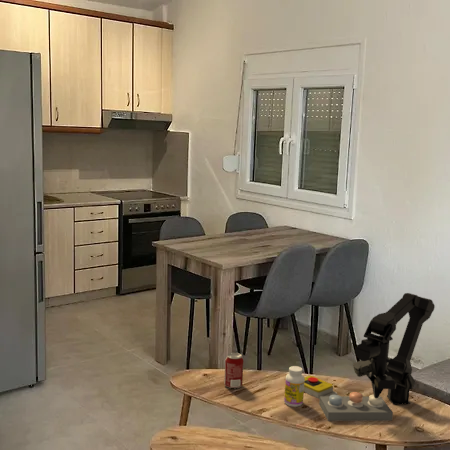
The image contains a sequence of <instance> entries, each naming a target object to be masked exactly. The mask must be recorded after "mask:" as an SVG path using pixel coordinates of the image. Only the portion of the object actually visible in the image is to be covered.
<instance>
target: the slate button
mask: <svg viewBox="0 0 450 450" xmlns="http://www.w3.org/2000/svg"><path fill="white" fill-rule="evenodd" d="M342 399H343V398H342V397H341V395H339V394H337V395H330V396H329V403H330V404H332V405H341V404H342Z"/></svg>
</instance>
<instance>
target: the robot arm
mask: <svg viewBox="0 0 450 450" xmlns="http://www.w3.org/2000/svg"><path fill="white" fill-rule="evenodd" d="M435 308H436V306H435V303H434V301H433V300H432V299H430V298H425V297H422V296H418V295H417V294H413V293H410V292H406V293H404V294H403V295H402V297H401V298H400V299H399V300H398V301H397V302H396V303H394V305H393V306H392V307H390V308H389V309H388V310H387V311H386V312H382V313H378V314H377V315H375V316H373V317H372V319H371V320H370V322H369V323H368V325H367V328H366V330H365V332H364V334H363V338H366V339H361V341H360V343H359V344H357V345H356V347H355V350H354V351H355V355H356V357H357V358H358V360H359V361H356V362H353V363H352V367H353V370H354V373H355V374H356V376H357V377H359V378H361V377H363V376H366V377H367V378H368V380H369V381H370V383H371V387H372V395H374V397H375V398H378V397H379V396H381V394H382V392H383V391H384V390H387V395H386V397H387V399H388V400H389V401H390V402H391V403H392V405H411V401H409V400H410V390H413V388H414V386H415V383H416V380H415V379H414V377H413V376H412V371H413V367H412V363H411V359H412V356H413V354H414V351H415V348H416V345H417V342H418V339H419V336H420V334H421V330H422V327H423V325H424V324H425V322H426V321H428V320H429V319H430V318H431V317H432V313H433V312H434V310H435ZM407 314H408V316H409V319H408V322H407V325H406V328H405V331H404V333H403V336H402V339H401V342H400V345H399V348H398V351H397V354H396V355H395V356H394V357H392V358H389V352H390V350H389V349H390V342H391V341H393V337H392V335H393V334H394V332H395V331H396V330H397V324H398V323H399V322H400V321H401V320H402V319H403V318H404V317H405V316H406V315H407Z"/></svg>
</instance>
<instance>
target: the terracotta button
mask: <svg viewBox="0 0 450 450" xmlns="http://www.w3.org/2000/svg"><path fill="white" fill-rule="evenodd" d="M348 396H349V400H350V401H352V402H356V403H360V402H362V399H363V396H364V395H363V394H362V393H360V392H358V391H352V392H350V393H349V395H348Z"/></svg>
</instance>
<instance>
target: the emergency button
mask: <svg viewBox="0 0 450 450" xmlns="http://www.w3.org/2000/svg"><path fill="white" fill-rule="evenodd" d="M304 379H305V381H304V393H305V394H307V395H310V396H312V397H315V398H316V399H318V400H320V396H330V395H338V392H337V391H334V385H333V384H332V383H330V382H327V380H326V381H325V380H323V379H320V378H318V377H316V376H313V375H307V376H304Z"/></svg>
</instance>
